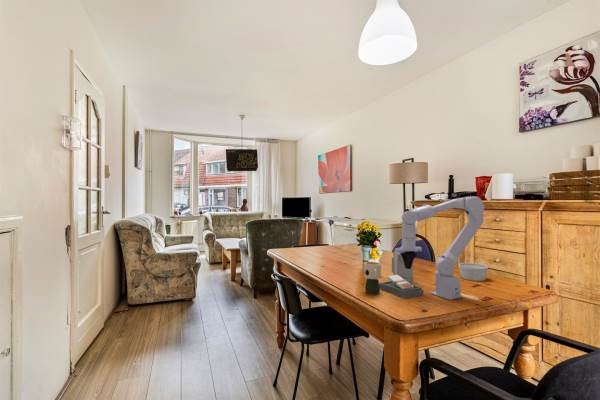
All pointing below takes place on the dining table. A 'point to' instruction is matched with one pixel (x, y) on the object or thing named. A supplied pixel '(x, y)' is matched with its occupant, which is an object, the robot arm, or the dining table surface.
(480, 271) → the ramekin
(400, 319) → the dining table surface
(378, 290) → the character mug
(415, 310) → the dining table surface
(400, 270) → the circuit breaker
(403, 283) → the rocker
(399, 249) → the robot arm
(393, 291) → the breaker panel
